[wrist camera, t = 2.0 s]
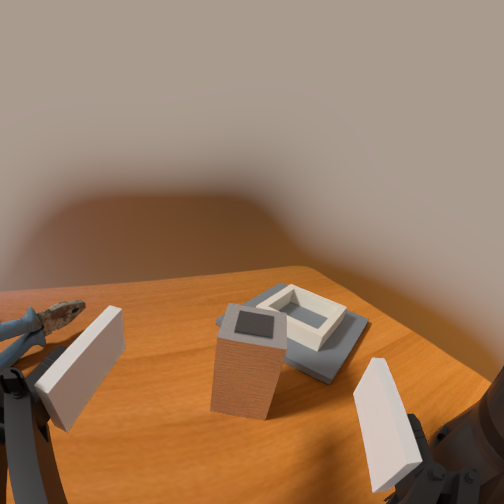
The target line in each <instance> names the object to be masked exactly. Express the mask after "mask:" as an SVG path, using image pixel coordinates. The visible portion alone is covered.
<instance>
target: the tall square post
mask: <svg viewBox="0 0 504 504" xmlns="http://www.w3.org/2000/svg"><path fill="white" fill-rule="evenodd" d="M286 351H287V313H284V312H278V311H272V310H266V309H260V308H254V307H249V306H243V305H238V304H232V303H229V304H228V307H227V310H226V313H225V316H224V319H223V322H222V325H221V327H220V330H219V333H218V336H217V344H216V353H215V364H214V374H213V385H212V396H211V407H210V411H213V412H218V413H223V414H228V415H233V416H239V417H245V418H251V419H258V420H265V419H266V416H267V413H268V410H269V407H270V404H271V401H272V397H273V394H274V391H275V388H276V385H277V382H278V378H279V375H280V372H281V368H282V365H283V362H284V358H285V355H286Z"/></svg>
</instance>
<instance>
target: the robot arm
mask: <svg viewBox="0 0 504 504" xmlns="http://www.w3.org/2000/svg"><path fill="white" fill-rule="evenodd" d="M125 349H126V348H125V339H124V329H123V317H122V309H120V308H117V307H114V306H111V305H110V306H109V307H108V308H107V309H106V310H105V311H104V312H103V313H102V314H101V315H100V316H99V317H98V318H97V319H96V320H95V321H94V322H93V323H92V324H91V325H90V326H89V327H88V328H87V329H86V330H85V331H84V332H83V333H82V334H81V335H80V336H79V337H78V338H77V339H76V340H75V341H74V342H73V343H72V344H71V345H70V346H69V347H68V348H66V347H63V346H60V347H58V348H56V349H54V350H53V351H52V352H51V353H50V354H49V355H48V356H47V358H45V359H44V360H43V361H42V363H40V364H39V365H38V366H37V367H36V368H35V369H34V370H33V371H32V372H31V374H30V375H29V376H28V377H27V378H26V379H25V378H24V376H23V374H22V372H21V371H20V370H19V369H17V368H14V367H9V368H5V369H4V370H2V371H1V372H0V504H6V484H7V469H8V468H9V475H10V481H11V486H12V491H13V496H14V500H15V504H68V503H67V500H66V497H65V494H64V490H63V487H62V484H61V480H60V477H59V473H58V469H57V465H56V461H55V457H54V452H53V447H52V442H51V437H50V431H49V426H48V423H47V422H48V421H49V419H50V418H51V420H52V422H53V424H54V425H55V426H56V427H58V428H60V429H62V430H63V431H65V432H67V433H68V431H69V430H70V428H71V427H72V425H73V424H74V422H75V421H76V419H77V418H78V416H79V415H80V413H81V412H82V410H83V409H84V407H85V406H86V404H87V403H88V401H89V400H90V398H91V397H92V396H93V394H94V393H95V391H96V390H97V388H98V387H99V385H100V384H101V383H102V381H103V380H104V378H105V377H106V375H107V374H108V373H109V371H110V370H111V368H112V367H113V366H114V364H115V363H116V361H117V360H118V359H119V357H120V356H121V355H122V353H123V352H124V350H125ZM353 395H354V399H355V403H356V408H357V412H358V417H359V421H360V426H361V431H362V436H363V441H364V446H365V451H366V456H367V462H368V467H369V473H370V479H371V485H372V491H373V493H377V492H384V491H388V490H390V489H391V488H392V487H393V486H395V489H396V491H395V492H394V493H392V494H391V495H390V496H388V497H387V498H386V499H385V500H384V501H385V502H386V501H387V500H388V499H389V500H388V502H387V503H386V504H504V366H503V368H502V369H501V371H500V372H499V374H498V375H497V377H496V378H495V380H494V381H493V383H492V384H491V385H490V387H489V388H488V390H487V391H486V393H485V394H484V395H483V397H482V398H481V399H480V400H479V401H478V402H477V403H475V404H474V405H472V406H471V407H470V408H468V409H467V410H465V411H464V412H462V413H461V414H459V415H458V416H456V417H455V418H453V419H452V420H450V421H449V422H447V423H446V424H444V425H443V426H442V427H441V428H440V429H439V430H438V431H437V432H436V433H435V434H434V435H433V436H432V437H431V438H430V439H429V441H428V442H427V440H426V438H425V434H424V432H423V431H422V430H423V429H422V426H421V424H420V421H419V420H418V419H417V418H416V416H415V415H414V414H406V411H405V409H404V406H403V403H402V401H401V398H400V395H399V393H398V390H397V388H396V385H395V383H394V380H393V378H392V375H391V373H390V370H389V368H388V365H387V363H386V361H385V359H383V358H372V359H371V361H370V363H369V365H368V367H367V369H366V371H365V373H364V375H363V376H362V378H361V380H360V382H359V384H358V386H357V387H356V389H355V391H354V393H353Z"/></svg>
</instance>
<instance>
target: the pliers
mask: <svg viewBox="0 0 504 504" xmlns="http://www.w3.org/2000/svg"><path fill="white" fill-rule="evenodd" d="M85 308H86V306H85V302H83V301H82V300H75V301H66V302H60V303H58V304H56V305H54V306H51V307H49V309H47V310H46V311H45V312H43V311H41V312H39V313H37V314H36V312H35V311H34V309H33V308H32V307H30V308H28V310H27V313H26V315H25V317H23V318H20V319H17V320H13V321H8V322H4V323H0V342H1V341H4V340H6V339H10V338H13V337H16V336H19V335H22V334H24V335H23V336H21V337H20V338H19V339H17V340H16V341H15V342H14V343H12V344H11V345H10V346H9V347H7V348H6V349H5V350H3V351H2V352H1V353H0V372H1V371H2V370H4V369H5V368H9V367H10V366H12V365H13V364H14V363H15V362H16V361H17V360H18V359H19V358H20V357H21V356H23V355H24V353H26V352H27V351H28V350H29V349H30V348H31V347H32V346H33V345H40V346H42V347H44V346H45V345H46V340H45V336H47V335H49V334H51V333H52V331H54V330H56V329H57V330H58V329H60V328H62V327H64V326H66V325H67V324H69V323H70V322H71V321H72V320H73V319H74V318H75V317H76V316H77V315H78V314H79V313H81V312H82V311H83V310H84V309H85Z"/></svg>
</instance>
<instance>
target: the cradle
mask: <svg viewBox="0 0 504 504" xmlns="http://www.w3.org/2000/svg"><path fill="white" fill-rule="evenodd" d="M242 305H243V306H249V307H254V308H260V309H266V310H272V311H278V312H284V313H287V351H286V355H285V358H284V363H286V364H288V365H290V366H292V367H294V368H296V369H298V370H300V371H302V372H304V373H306V374H308V375H310V376H312V377H314V378H316V379H318V380H320V381H322V382H324V383H326V384H328V385H330V383H331V382H332V380H333V379H334V377H335V376H336V374H337V373H338V371H339V370H340V368H341V367H342V365H343V363H344V362H345V360H346V359H347V357H348V355H349V354H350V352H351V351H352V349H353V347H354V346H355V344H356V342H357V341H358V339H359V337H360V335H361V334H362V332H363V330H364V328H365V327H366V325H367V323H368V320H369V319H367V318H364V317H362V316H359V315H357V314H355V313H352V312H350V311H347V310H346V309H347V307H345V306H343V305H340V304H338V303H336V302H333V301H331V300H328V299H326V298H323V297H321V296H319V295H316V294H314V293H311V292H309V291H307V290H304V289H302V288H299V287H297V286H295V285H292V284H290V285H289V286H287V285H285V284H283V283H279V284H277V285H275V286H274V287H272V288H270V289H269V290H267V291H265V292H263V293H262V294H260V295H258V296H256V297H255V298H253V299H251V300H249V301H247V302H246V303H244V304H242ZM224 316H225V314H224V315H222V316H221V317H219V318H217V320H216V325H218V326H220V327H221V325H222V322H223V319H224Z"/></svg>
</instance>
